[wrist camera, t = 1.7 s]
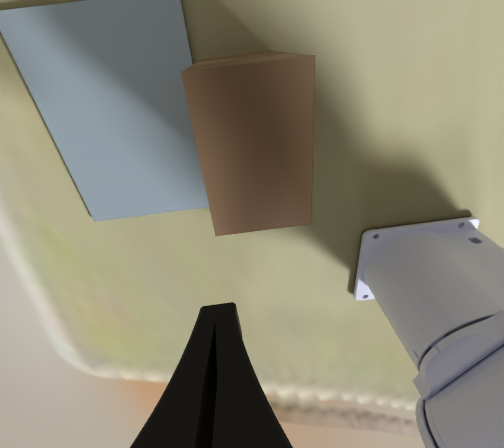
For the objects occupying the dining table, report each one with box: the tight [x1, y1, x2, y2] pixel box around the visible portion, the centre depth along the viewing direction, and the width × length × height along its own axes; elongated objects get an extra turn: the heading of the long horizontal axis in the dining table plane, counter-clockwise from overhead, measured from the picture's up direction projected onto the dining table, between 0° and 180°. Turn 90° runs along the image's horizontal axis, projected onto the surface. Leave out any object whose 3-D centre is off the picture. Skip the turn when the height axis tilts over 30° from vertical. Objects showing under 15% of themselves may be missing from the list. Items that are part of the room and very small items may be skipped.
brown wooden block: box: [181, 51, 315, 236], centre depth 13 cm, size 4×6×8 cm, turn 5°
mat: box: [0, 0, 209, 222], centre depth 17 cm, size 9×12×1 cm
